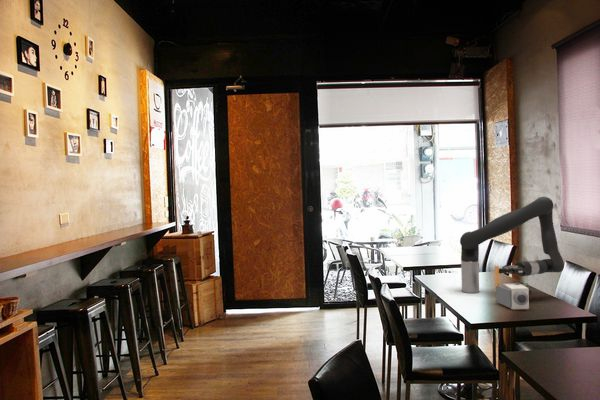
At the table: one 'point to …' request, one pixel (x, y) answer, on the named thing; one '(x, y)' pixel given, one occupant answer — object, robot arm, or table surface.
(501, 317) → the table surface
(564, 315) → the table surface
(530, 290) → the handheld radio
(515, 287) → the camera body
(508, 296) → the side door
